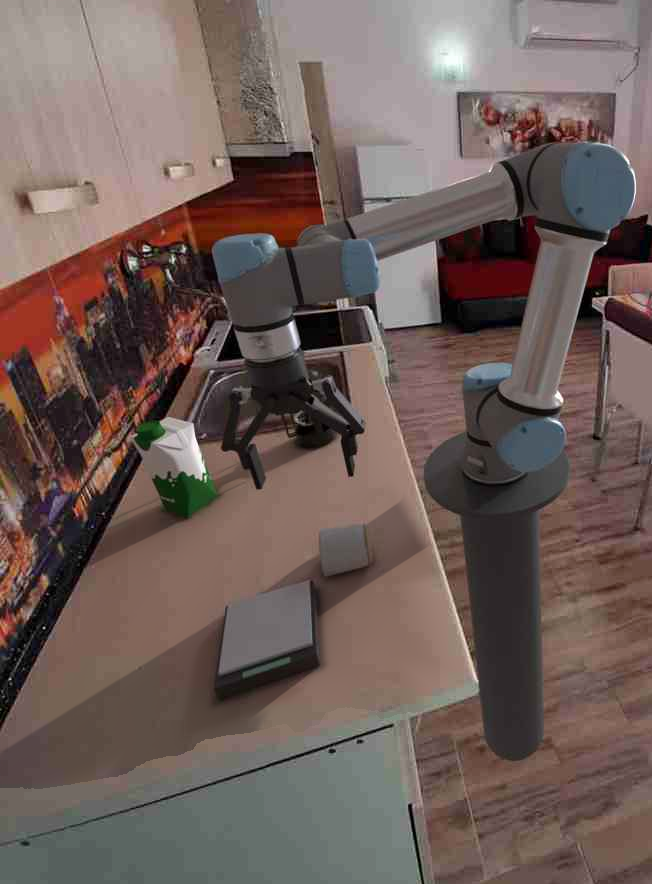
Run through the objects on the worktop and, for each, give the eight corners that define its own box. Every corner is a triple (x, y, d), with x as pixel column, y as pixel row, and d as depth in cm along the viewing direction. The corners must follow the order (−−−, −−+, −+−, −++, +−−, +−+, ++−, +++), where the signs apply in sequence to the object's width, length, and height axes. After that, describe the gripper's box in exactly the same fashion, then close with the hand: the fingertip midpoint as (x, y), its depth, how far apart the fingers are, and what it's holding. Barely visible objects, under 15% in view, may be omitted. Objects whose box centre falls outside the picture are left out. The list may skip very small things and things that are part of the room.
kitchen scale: (316, 590, 84) (312, 576, 82) (320, 665, 72) (315, 651, 70) (230, 616, 80) (224, 603, 79) (219, 700, 68) (212, 685, 67)
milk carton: (157, 511, 104) (120, 428, 95) (197, 485, 111) (165, 405, 102) (186, 522, 100) (150, 436, 91) (225, 494, 108) (195, 412, 99)
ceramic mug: (376, 573, 86) (368, 538, 83) (326, 587, 84) (316, 552, 81) (370, 532, 95) (363, 499, 92) (325, 543, 93) (316, 510, 90)
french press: (331, 422, 132) (312, 340, 122) (344, 437, 125) (325, 352, 115) (285, 439, 126) (261, 354, 116) (296, 456, 119) (271, 367, 109)
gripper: (163, 374, 65) (214, 505, 74) (363, 352, 68) (387, 480, 77) (186, 351, 71) (230, 474, 81) (367, 332, 74) (389, 453, 84)
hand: (307, 477), depth 79 cm, fingers open, 13 cm apart
